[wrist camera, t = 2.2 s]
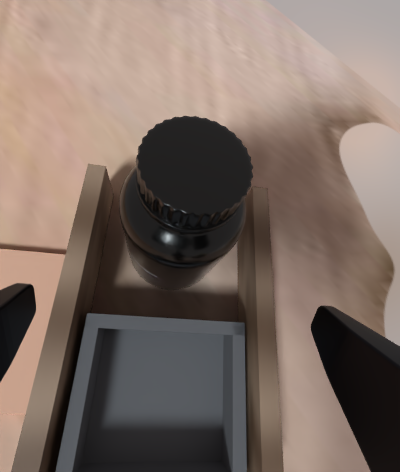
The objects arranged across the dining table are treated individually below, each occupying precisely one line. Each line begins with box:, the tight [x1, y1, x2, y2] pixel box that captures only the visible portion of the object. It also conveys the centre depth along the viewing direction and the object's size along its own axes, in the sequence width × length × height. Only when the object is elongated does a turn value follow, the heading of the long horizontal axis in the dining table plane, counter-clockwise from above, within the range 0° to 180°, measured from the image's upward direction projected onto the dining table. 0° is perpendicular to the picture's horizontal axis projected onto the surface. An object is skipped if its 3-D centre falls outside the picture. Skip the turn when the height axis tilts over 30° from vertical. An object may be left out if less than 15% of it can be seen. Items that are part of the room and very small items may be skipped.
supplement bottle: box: [119, 116, 253, 290], centre depth 16 cm, size 7×7×12 cm
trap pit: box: [56, 313, 247, 472], centre depth 16 cm, size 9×10×3 cm
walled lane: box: [11, 164, 284, 472], centre depth 17 cm, size 21×13×4 cm, turn 177°
